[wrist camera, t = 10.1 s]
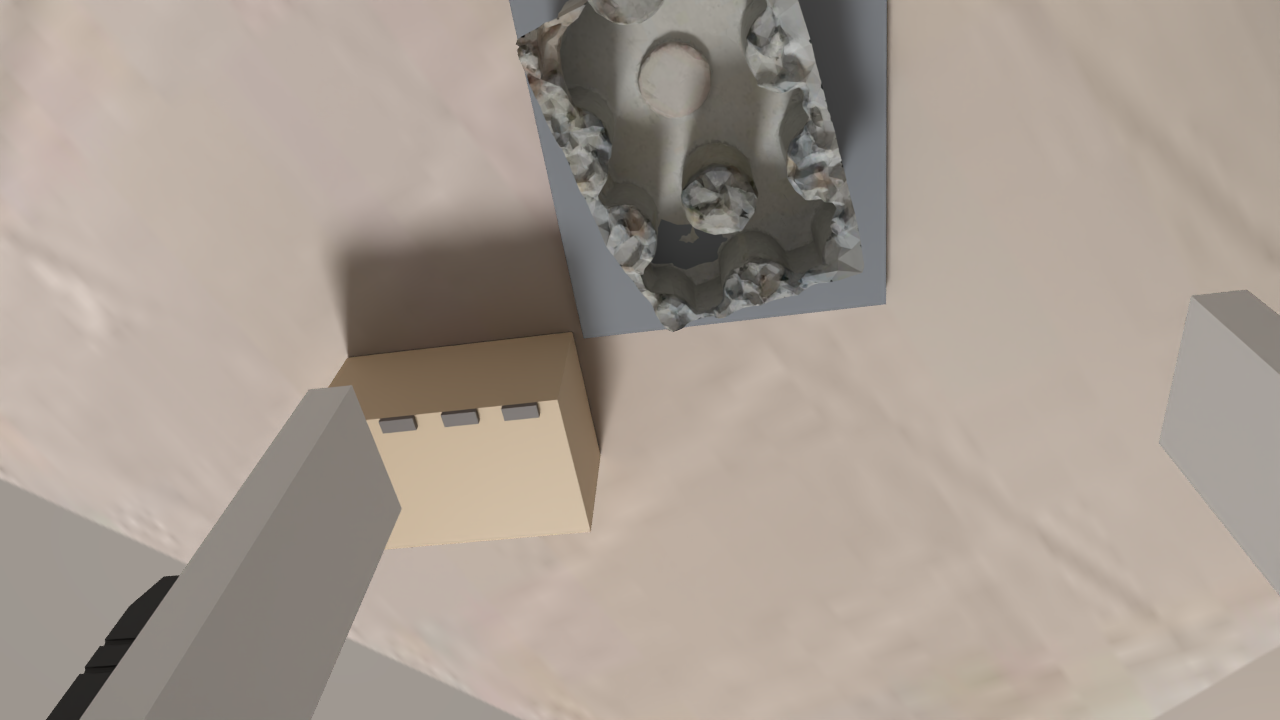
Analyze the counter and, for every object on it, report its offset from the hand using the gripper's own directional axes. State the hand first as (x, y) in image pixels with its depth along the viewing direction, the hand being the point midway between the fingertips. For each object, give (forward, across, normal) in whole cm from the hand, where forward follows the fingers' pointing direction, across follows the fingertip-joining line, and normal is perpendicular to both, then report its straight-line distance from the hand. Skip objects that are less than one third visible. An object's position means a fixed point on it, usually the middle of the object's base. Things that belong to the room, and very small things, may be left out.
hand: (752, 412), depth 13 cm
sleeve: (+16, +11, +10) cm, 22 cm away
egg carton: (+16, +1, 0) cm, 16 cm away
